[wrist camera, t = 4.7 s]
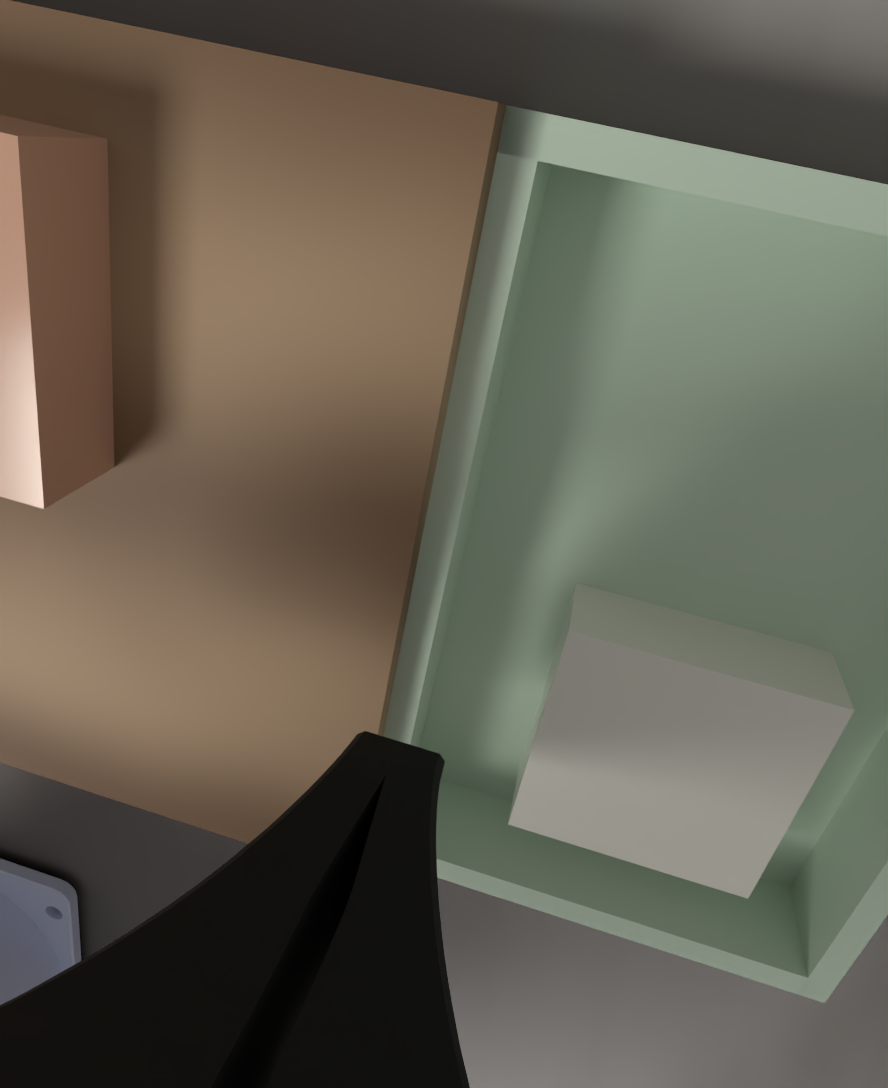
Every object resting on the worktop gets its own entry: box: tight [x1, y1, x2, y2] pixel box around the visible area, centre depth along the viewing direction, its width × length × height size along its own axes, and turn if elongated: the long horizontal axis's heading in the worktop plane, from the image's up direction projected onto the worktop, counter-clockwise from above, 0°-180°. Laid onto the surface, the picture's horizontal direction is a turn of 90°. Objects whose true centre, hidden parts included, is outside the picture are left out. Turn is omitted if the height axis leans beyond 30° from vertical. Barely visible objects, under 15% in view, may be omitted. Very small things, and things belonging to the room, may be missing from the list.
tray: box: [383, 105, 888, 1003], centre depth 13 cm, size 13×9×2 cm
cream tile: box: [508, 583, 855, 899], centre depth 14 cm, size 4×4×2 cm
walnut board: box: [0, 0, 506, 844], centre depth 14 cm, size 13×11×3 cm
